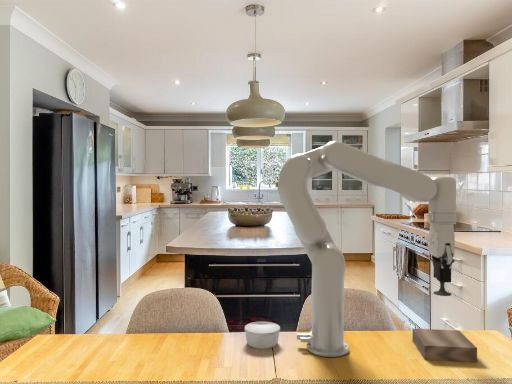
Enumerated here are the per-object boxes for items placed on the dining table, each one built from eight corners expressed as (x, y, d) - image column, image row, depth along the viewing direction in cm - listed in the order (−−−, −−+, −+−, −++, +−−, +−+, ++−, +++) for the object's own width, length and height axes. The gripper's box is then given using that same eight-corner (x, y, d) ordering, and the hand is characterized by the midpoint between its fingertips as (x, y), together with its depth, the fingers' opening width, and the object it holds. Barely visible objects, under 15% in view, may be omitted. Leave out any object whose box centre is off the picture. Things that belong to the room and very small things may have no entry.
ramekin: (273, 335, 136) (273, 319, 136) (285, 348, 125) (285, 331, 125) (240, 339, 133) (240, 322, 133) (249, 352, 122) (249, 334, 122)
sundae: (453, 291, 124) (453, 242, 124) (455, 297, 118) (456, 245, 118) (429, 290, 127) (429, 241, 126) (431, 295, 120) (431, 244, 120)
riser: (424, 359, 117) (424, 345, 117) (412, 341, 131) (412, 328, 131) (477, 362, 115) (477, 348, 115) (459, 343, 129) (459, 330, 129)
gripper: (421, 216, 131) (421, 273, 131) (437, 220, 114) (437, 286, 114) (446, 216, 130) (446, 274, 130) (466, 221, 113) (466, 287, 113)
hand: (442, 279), depth 122 cm, fingers closed on sundae, 4 cm apart
